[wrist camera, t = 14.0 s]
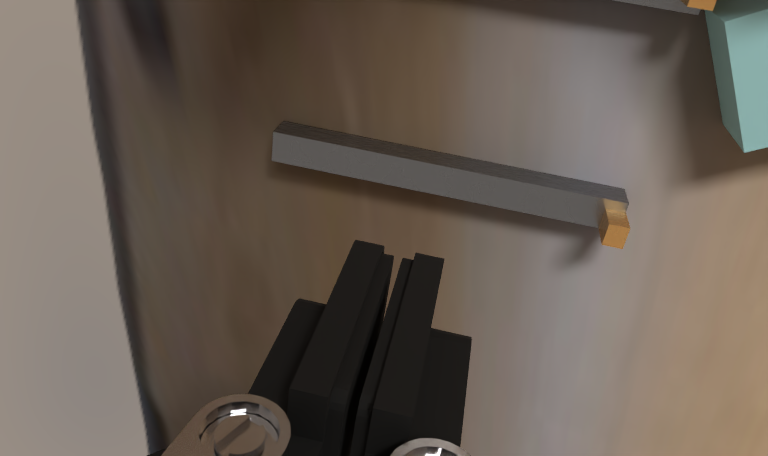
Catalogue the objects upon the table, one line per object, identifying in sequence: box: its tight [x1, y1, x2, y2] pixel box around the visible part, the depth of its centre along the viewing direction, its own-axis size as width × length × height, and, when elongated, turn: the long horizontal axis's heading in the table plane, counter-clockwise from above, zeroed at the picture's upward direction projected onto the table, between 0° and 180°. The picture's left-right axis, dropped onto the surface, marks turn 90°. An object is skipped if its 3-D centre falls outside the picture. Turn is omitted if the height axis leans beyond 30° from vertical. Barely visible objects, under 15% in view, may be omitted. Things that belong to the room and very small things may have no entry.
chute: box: [272, 0, 717, 249], centre depth 37 cm, size 15×22×4 cm
